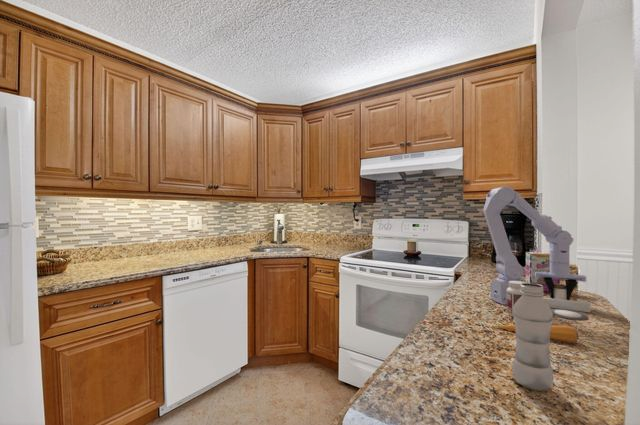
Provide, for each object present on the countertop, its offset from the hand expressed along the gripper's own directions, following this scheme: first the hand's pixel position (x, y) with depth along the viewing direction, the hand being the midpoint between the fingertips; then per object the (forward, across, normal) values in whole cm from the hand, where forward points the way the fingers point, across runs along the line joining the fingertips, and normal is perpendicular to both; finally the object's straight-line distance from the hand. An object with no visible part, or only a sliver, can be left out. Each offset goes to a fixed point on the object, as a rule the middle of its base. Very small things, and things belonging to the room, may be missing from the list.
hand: (559, 298), depth 108 cm
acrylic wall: (+2, 0, +6) cm, 6 cm away
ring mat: (+2, 0, +13) cm, 13 cm away
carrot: (+2, +13, +37) cm, 39 cm away
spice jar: (+2, 0, 0) cm, 2 cm away
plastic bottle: (+2, +15, +67) cm, 69 cm away
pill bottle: (+2, +14, +21) cm, 26 cm away
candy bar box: (+2, +3, -20) cm, 20 cm away
